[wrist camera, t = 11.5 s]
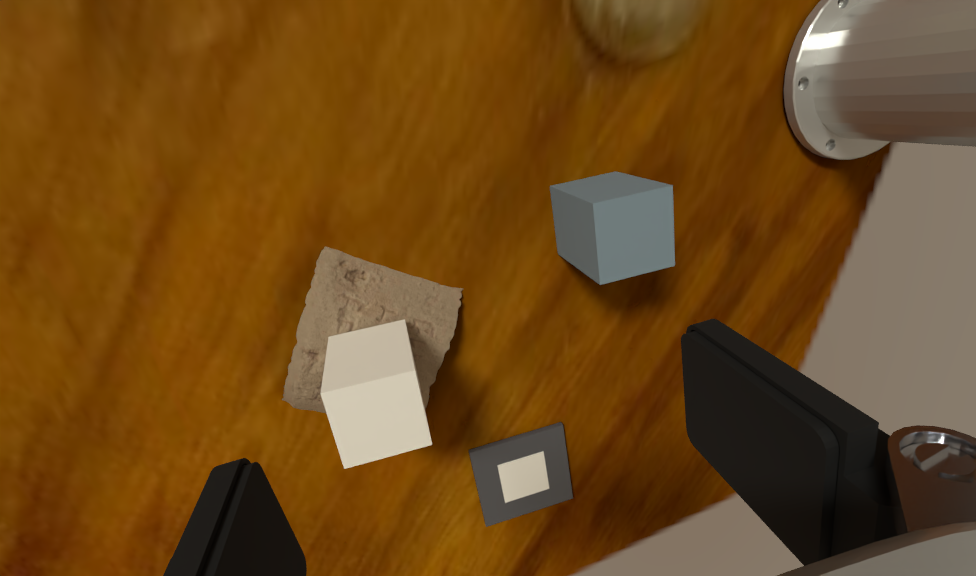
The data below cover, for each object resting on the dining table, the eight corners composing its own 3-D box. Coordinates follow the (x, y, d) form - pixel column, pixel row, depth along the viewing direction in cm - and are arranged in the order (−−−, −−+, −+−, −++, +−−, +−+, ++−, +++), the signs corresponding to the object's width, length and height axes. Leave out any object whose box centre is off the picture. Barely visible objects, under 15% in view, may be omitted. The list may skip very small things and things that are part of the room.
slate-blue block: (615, 171, 35) (672, 185, 29) (620, 238, 37) (674, 265, 31) (549, 185, 34) (592, 203, 28) (557, 253, 36) (600, 284, 30)
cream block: (404, 319, 33) (415, 370, 27) (419, 382, 35) (432, 444, 29) (328, 336, 32) (320, 393, 26) (347, 400, 34) (344, 468, 28)
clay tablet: (409, 435, 39) (413, 456, 37) (275, 414, 36) (268, 437, 34) (467, 266, 36) (475, 278, 33) (324, 226, 33) (321, 236, 30)
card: (561, 421, 41) (563, 425, 41) (571, 494, 44) (573, 499, 44) (468, 450, 40) (469, 453, 40) (485, 523, 43) (486, 527, 43)
